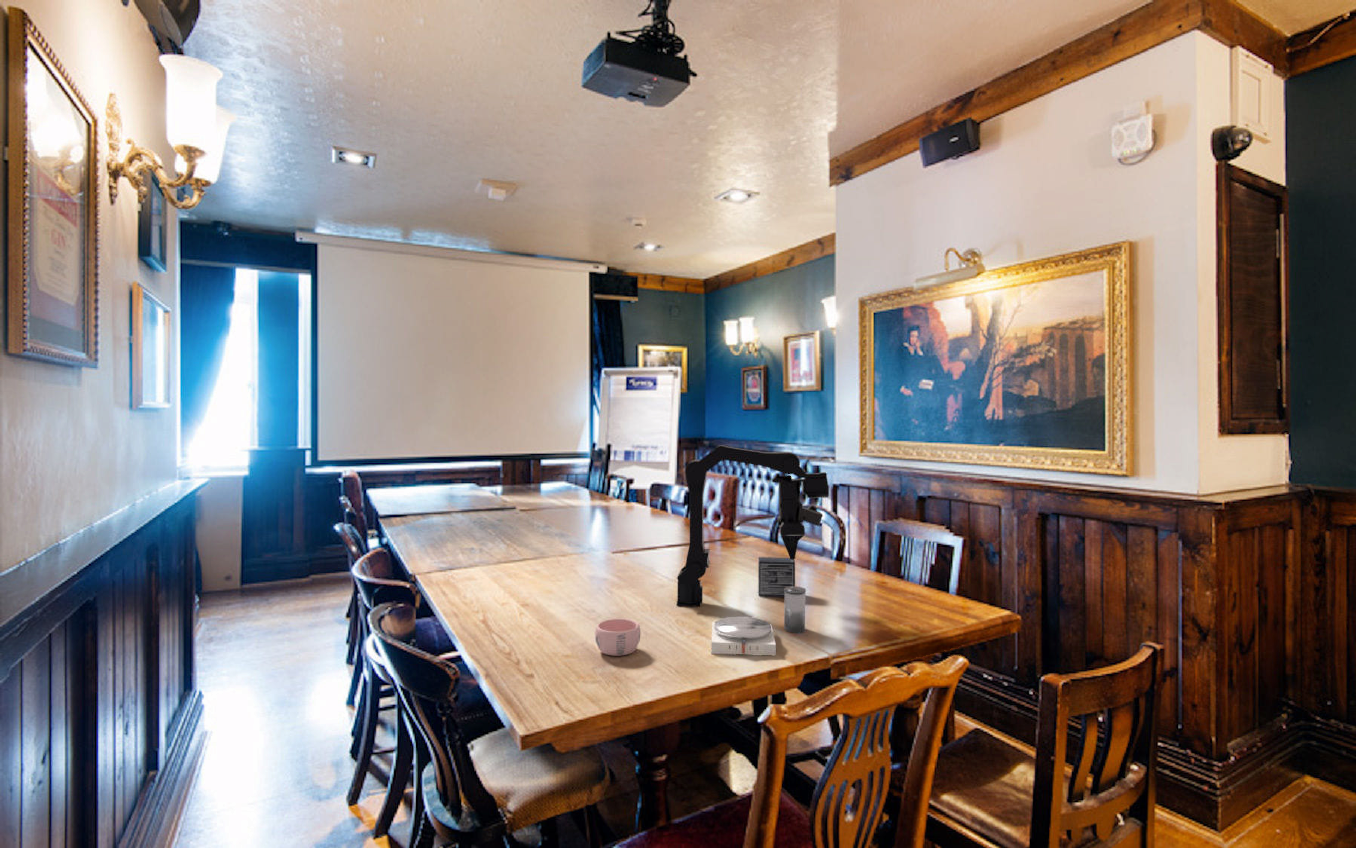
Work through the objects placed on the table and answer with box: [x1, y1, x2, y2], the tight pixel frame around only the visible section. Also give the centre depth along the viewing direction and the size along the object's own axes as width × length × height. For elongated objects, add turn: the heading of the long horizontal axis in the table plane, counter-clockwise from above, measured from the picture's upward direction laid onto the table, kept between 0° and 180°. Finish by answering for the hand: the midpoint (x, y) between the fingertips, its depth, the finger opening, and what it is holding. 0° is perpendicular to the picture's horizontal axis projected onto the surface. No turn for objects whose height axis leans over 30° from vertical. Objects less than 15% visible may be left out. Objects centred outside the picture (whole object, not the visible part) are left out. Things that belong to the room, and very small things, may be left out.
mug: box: [594, 618, 641, 657], centre depth 144 cm, size 12×10×6 cm
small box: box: [757, 556, 796, 598], centre depth 190 cm, size 11×6×10 cm, turn 84°
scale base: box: [710, 621, 777, 656], centre depth 149 cm, size 14×14×2 cm
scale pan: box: [714, 616, 772, 653], centre depth 148 cm, size 13×14×4 cm
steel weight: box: [783, 585, 807, 634], centre depth 159 cm, size 5×5×10 cm
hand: (791, 555), depth 176 cm, fingers open, 9 cm apart
